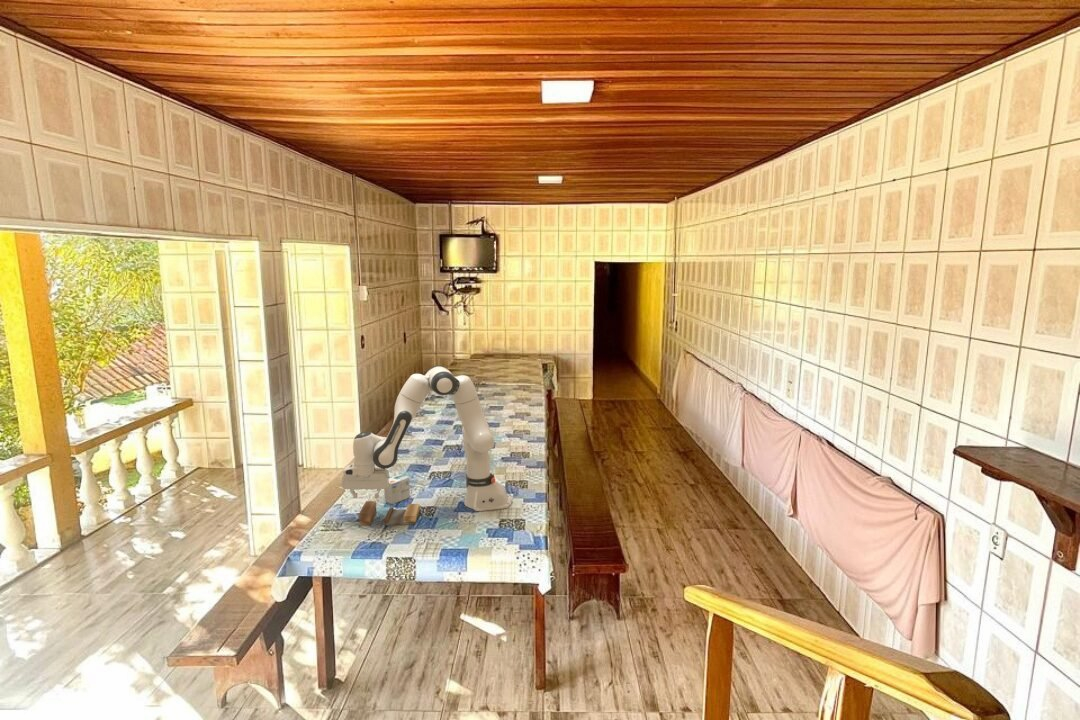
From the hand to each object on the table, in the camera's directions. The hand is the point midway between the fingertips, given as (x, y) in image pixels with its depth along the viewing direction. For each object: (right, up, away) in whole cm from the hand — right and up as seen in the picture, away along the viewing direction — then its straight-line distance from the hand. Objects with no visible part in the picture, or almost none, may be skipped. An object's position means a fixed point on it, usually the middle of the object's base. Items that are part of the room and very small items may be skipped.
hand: (366, 497), depth 247 cm
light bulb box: (+8, -7, +22) cm, 25 cm away
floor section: (+16, -10, +3) cm, 19 cm away
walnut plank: (0, -10, +2) cm, 11 cm away
